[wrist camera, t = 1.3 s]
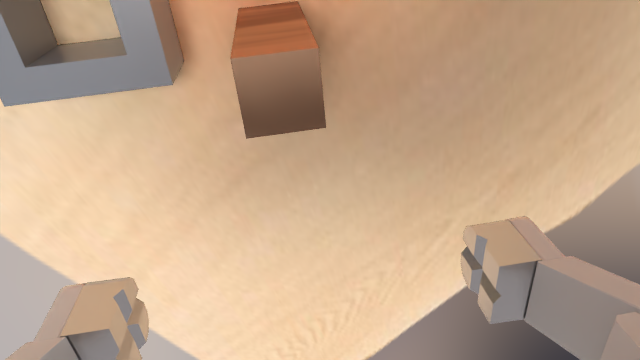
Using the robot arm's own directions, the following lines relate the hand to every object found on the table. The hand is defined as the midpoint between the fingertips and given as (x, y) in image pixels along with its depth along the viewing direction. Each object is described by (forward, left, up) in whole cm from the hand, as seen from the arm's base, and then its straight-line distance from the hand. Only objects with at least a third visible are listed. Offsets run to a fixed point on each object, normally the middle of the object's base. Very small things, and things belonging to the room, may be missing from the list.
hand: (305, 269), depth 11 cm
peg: (0, 0, -24) cm, 24 cm away
